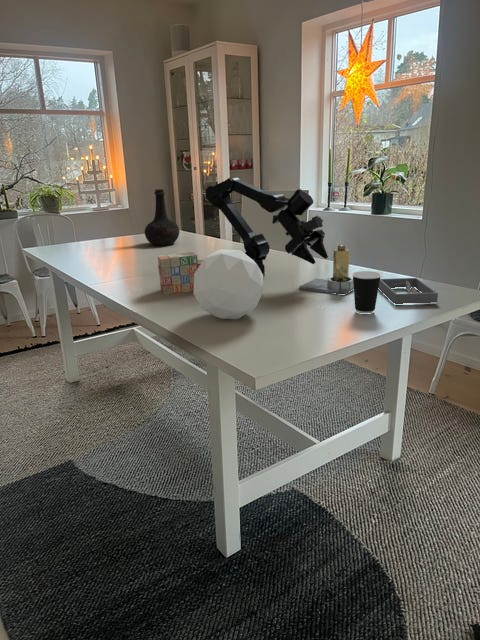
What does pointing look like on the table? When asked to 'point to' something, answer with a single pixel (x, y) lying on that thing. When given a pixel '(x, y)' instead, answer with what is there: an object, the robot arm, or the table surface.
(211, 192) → the robot arm
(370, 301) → the dixie cup
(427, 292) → the tray
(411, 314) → the table surface
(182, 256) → the stack of blocks
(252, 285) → the ball
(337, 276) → the gold capped bottle
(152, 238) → the glass bottle
